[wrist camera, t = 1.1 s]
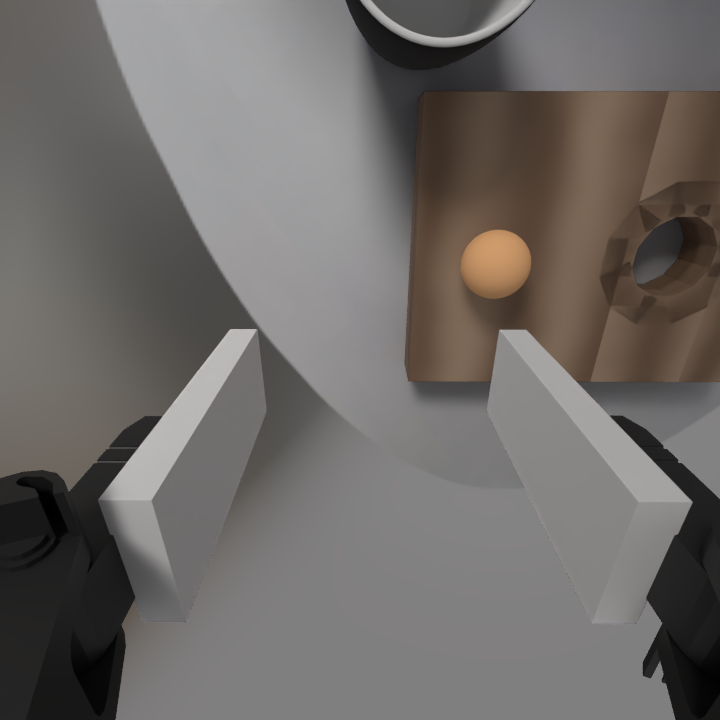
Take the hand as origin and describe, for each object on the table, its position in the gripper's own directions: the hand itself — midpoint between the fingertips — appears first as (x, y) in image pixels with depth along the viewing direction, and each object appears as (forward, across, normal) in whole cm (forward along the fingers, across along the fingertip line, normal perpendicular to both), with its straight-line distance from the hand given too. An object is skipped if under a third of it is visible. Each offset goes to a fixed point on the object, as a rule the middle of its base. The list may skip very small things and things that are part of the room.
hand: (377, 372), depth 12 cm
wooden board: (+19, +14, 0) cm, 24 cm away
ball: (+14, +8, 0) cm, 16 cm away
